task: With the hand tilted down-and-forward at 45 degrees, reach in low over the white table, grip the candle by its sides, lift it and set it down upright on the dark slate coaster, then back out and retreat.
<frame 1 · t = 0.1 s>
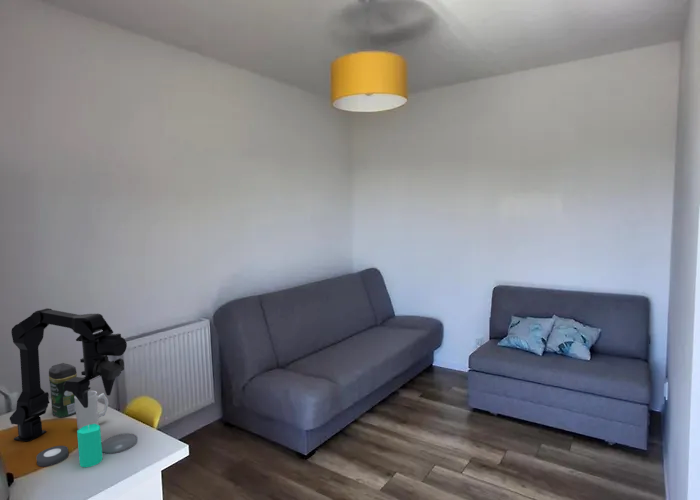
hand: (97, 401, 139), 15 cm above the table, tool pointing down, fingers open, 9 cm apart
candle: (91, 462, 131), on the table
dark grey washer: (52, 458, 132), on the table
slate coaster: (118, 444, 140), on the table
coffee jar: (66, 413, 164), on the table
mug: (93, 426, 153), on the table
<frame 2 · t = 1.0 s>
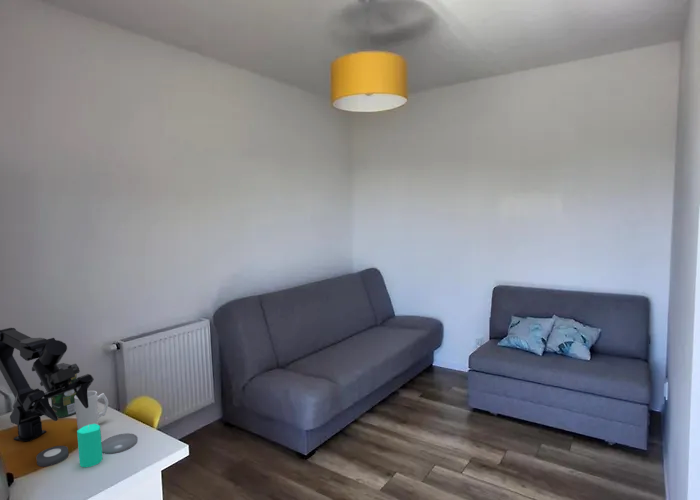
hand: (72, 413, 133), 13 cm above the table, tool tilted 45°, fingers open, 9 cm apart
nothing on the table moved.
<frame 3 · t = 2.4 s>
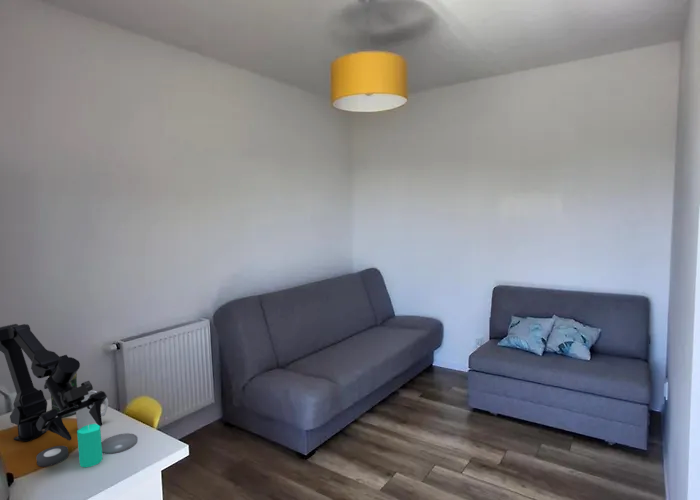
hand: (86, 432, 130), 9 cm above the table, tool tilted 45°, fingers open, 9 cm apart
nothing on the table moved.
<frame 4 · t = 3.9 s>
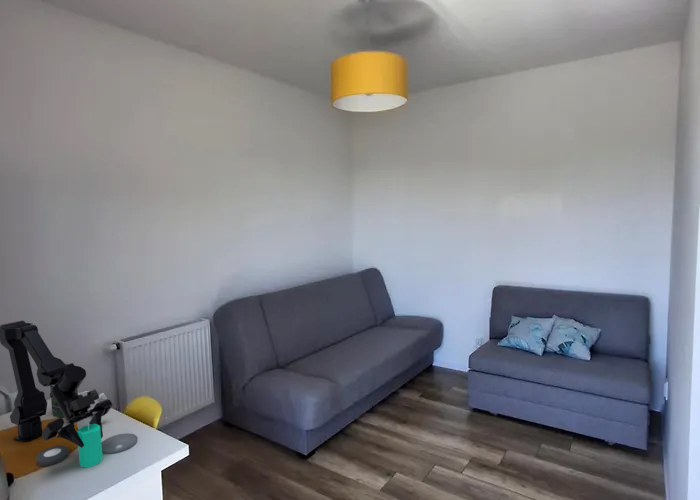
hand: (92, 441, 129), 7 cm above the table, tool tilted 45°, fingers closed on candle, 5 cm apart
candle: (91, 462, 131), on the table, touching gripper
everything else where it was.
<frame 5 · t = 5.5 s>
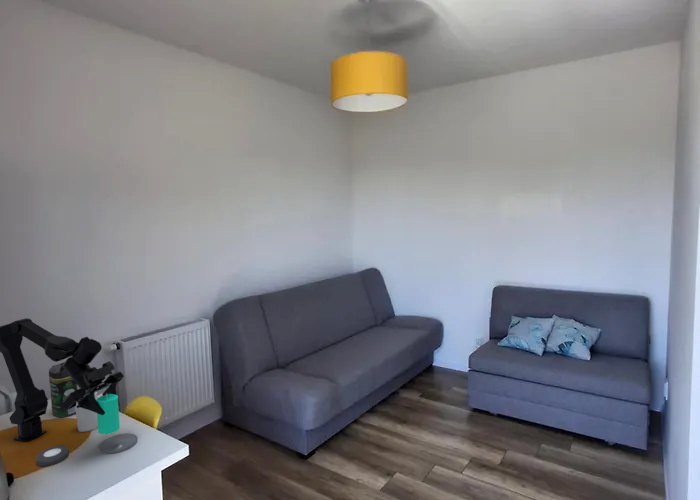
hand: (111, 410, 136), 13 cm above the table, tool tilted 45°, fingers closed on candle, 5 cm apart
candle: (109, 430, 136), point 6 cm above the table, touching gripper
everything else where it was.
when the fingers open (8 cm above the table, at t = 7.4 s): candle stays where it is, resting on slate coaster.
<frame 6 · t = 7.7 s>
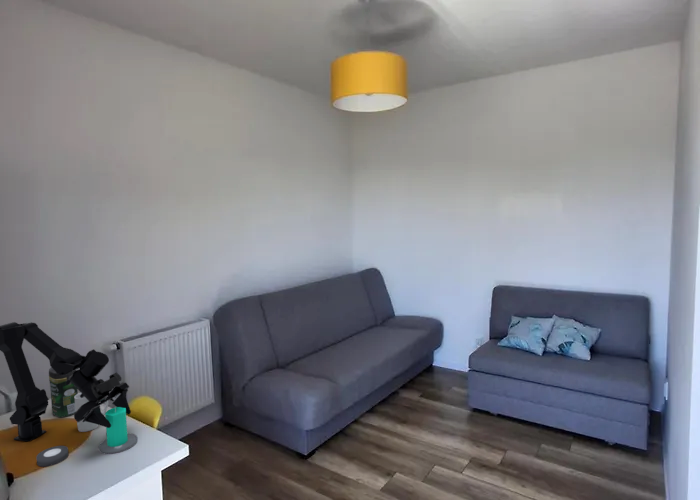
hand: (120, 420, 139), 8 cm above the table, tool tilted 45°, fingers open, 9 cm apart
candle: (117, 442, 140), point 1 cm above the table, touching slate coaster
everything else where it was.
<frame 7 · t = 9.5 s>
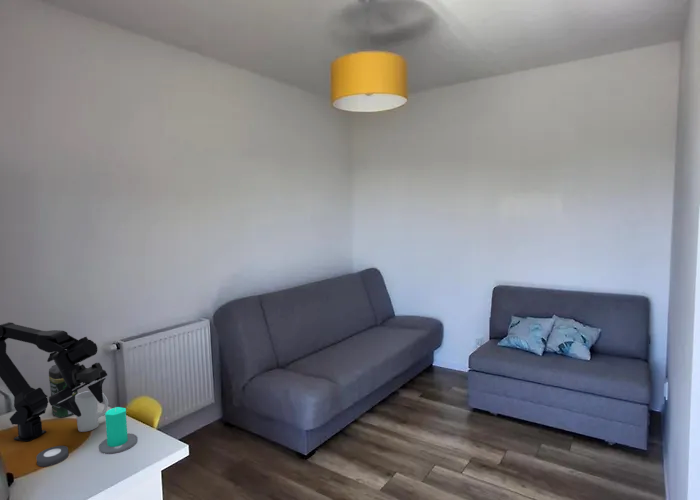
hand: (91, 409, 143), 10 cm above the table, tool tilted 25°, fingers open, 9 cm apart
nothing on the table moved.
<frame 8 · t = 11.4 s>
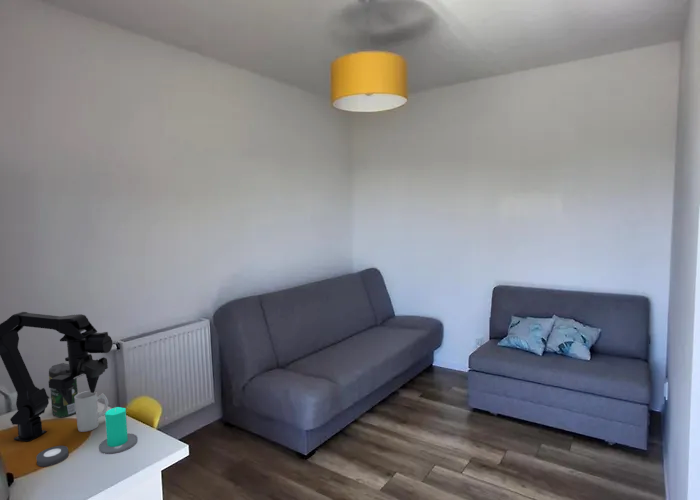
hand: (81, 398, 145), 13 cm above the table, tool pointing down, fingers open, 9 cm apart
nothing on the table moved.
at the end: candle 0.2 cm from the slate coaster (horizontally); candle point 0.6 cm above the table; candle tilted 0° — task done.
